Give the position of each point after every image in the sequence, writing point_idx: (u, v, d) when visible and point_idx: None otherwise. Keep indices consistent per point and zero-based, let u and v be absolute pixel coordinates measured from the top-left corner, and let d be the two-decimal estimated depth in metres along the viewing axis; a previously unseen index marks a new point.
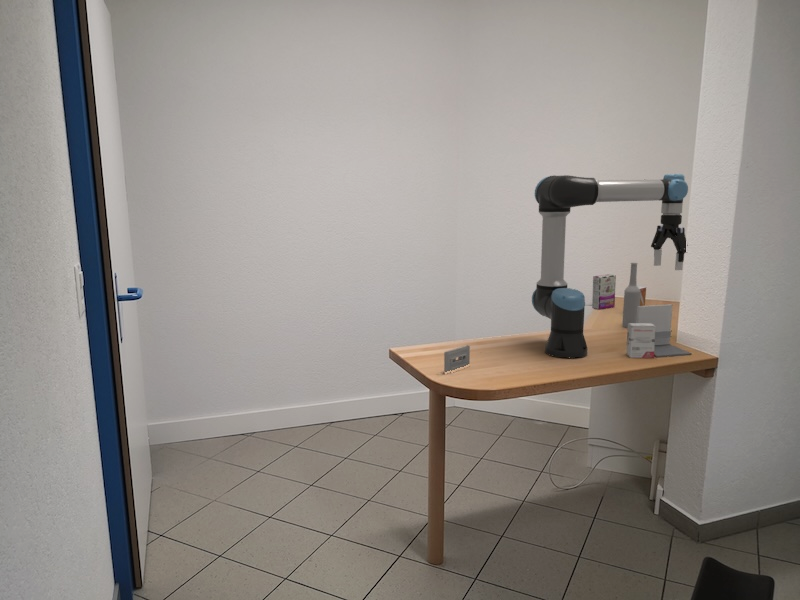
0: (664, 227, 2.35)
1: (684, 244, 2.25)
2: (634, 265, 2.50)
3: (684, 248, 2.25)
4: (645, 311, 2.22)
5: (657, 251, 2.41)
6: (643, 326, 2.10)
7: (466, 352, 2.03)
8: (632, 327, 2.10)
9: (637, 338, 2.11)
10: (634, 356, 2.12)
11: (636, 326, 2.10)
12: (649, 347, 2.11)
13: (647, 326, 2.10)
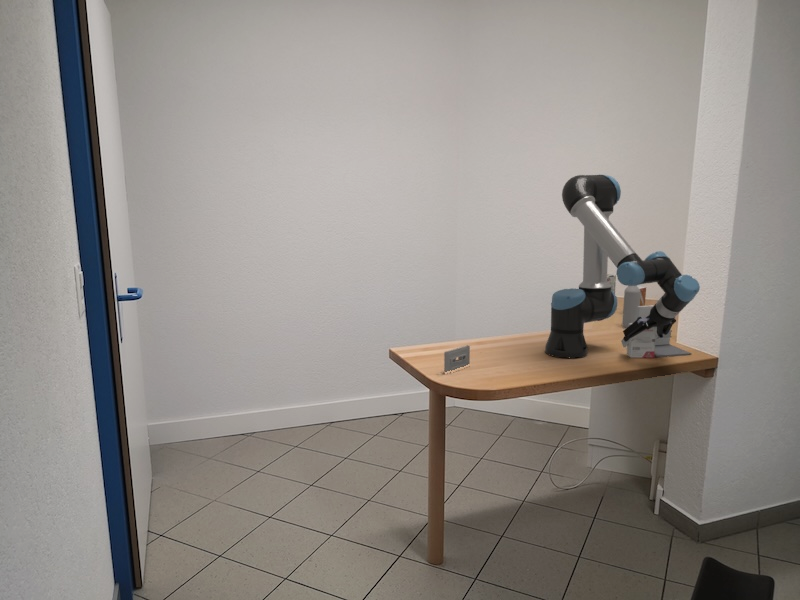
0: None
1: (629, 330, 2.06)
2: None
3: (625, 331, 2.08)
4: (645, 311, 2.22)
5: None
6: None
7: (466, 352, 2.03)
8: None
9: (638, 338, 2.11)
10: (634, 356, 2.12)
11: None
12: (649, 347, 2.11)
13: None
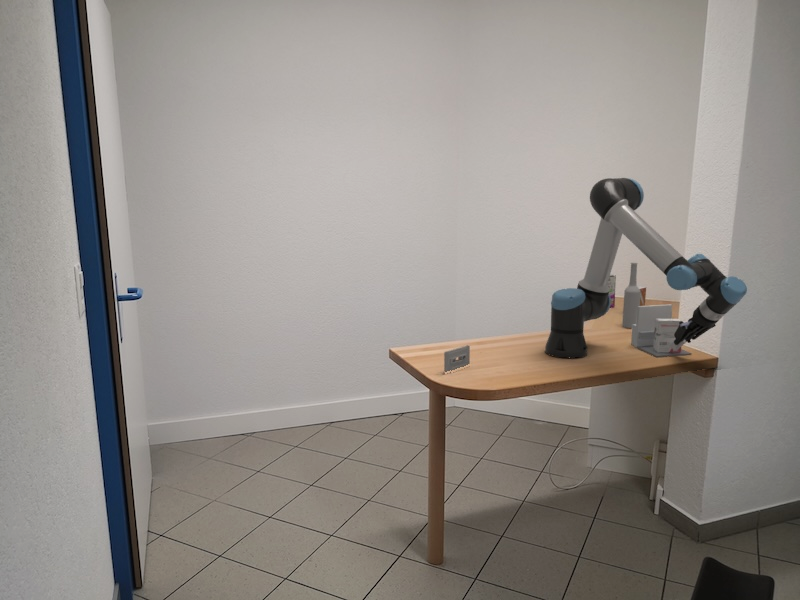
0: None
1: (677, 334, 2.04)
2: (634, 265, 2.50)
3: (675, 335, 2.06)
4: (645, 311, 2.22)
5: None
6: (670, 321, 2.13)
7: (466, 352, 2.03)
8: (659, 322, 2.14)
9: (665, 334, 2.14)
10: (661, 351, 2.15)
11: (663, 321, 2.14)
12: None
13: (674, 321, 2.13)
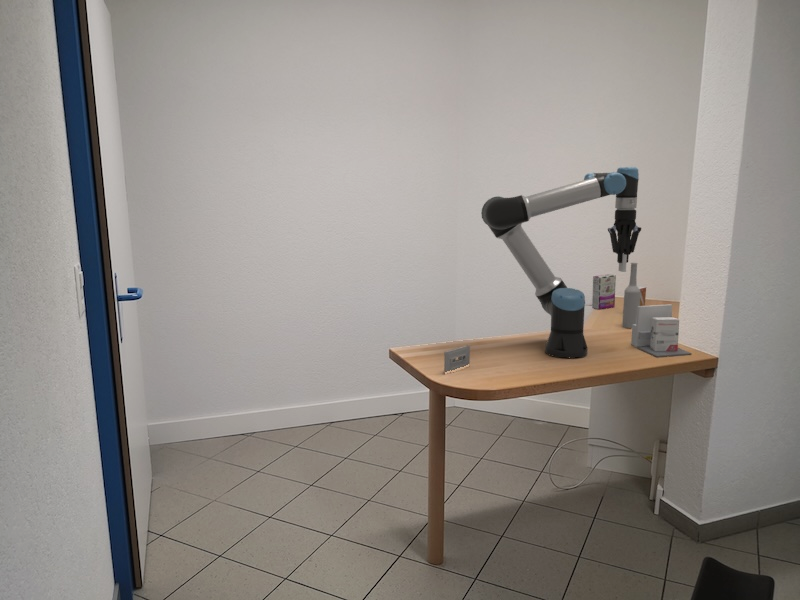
0: None
1: (613, 245, 2.23)
2: (634, 265, 2.50)
3: (613, 249, 2.24)
4: (645, 311, 2.22)
5: None
6: (667, 320, 2.16)
7: (466, 352, 2.03)
8: (657, 321, 2.16)
9: (662, 332, 2.16)
10: (659, 349, 2.17)
11: (661, 320, 2.16)
12: (673, 340, 2.16)
13: (671, 320, 2.15)
